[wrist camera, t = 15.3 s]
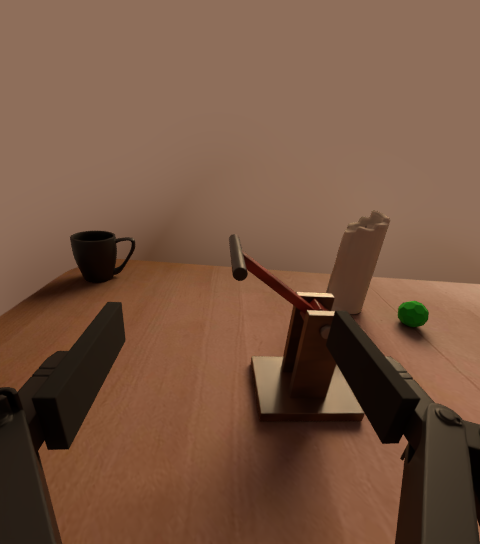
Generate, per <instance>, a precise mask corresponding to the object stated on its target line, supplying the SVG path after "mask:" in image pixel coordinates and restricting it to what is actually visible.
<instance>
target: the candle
mask: <svg viewBox="0 0 480 544" xmlns="http://www.w3.org/2000/svg"><path fill="white" fill-rule="evenodd" d="M389 222H390V218H388V217H387V216H385V215H384V214H382V213H380V212H378V211H375V210H373V211H372V213H371V216H370V217H369V218H367V217H361V218H360V219H359V221H358V222H356V223H351V224H349V225H348V227H347V229H346V231H345V233H344V235H343V237H342V241H341V244H340V247H339V250H338V254H337V258H336V262H335V265H334V268H333V271H332V274H331V277H330V280H329V284H328V288H327V292H326V293H329V294H332V295H333V296H334V297H335V299H334V303H333V306H332V310H331V311H347V312H348V313H349V314H357V313H360V312H361V309H362V306H363V303H364V300H365V297H366V294H367V291H368V288H369V284H370V281H371V278H372V275H373V272H374V269H375V266H376V263H377V260H378V256H379V253H380V250H381V247H382V244H383V241H384V238H385V235H386V232H387V229H388V226H389Z"/></svg>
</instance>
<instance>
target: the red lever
mask: <svg viewBox="0 0 480 544" xmlns="http://www.w3.org/2000/svg"><path fill="white" fill-rule="evenodd" d="M229 244H230V253H231V263H232V273H233V277H234V278H235V279H236V280H238V281H242V280H244V279H245V278H246V277H247V274H248V273H247V270H248V271H250V272H251V273H252V274H254V275H255V276H256V277H257V278H259V279H260V280H261V281H263V282H264V283H265V284H267V285H268V286H269V287H271V288H272V289H273V290H274V291H276V292H277V293H278V294H280V295H281V296H282V297H284V298H285V299H286V300H287V301H289V302H290V303H291V304H293V305H294V306H295V307H297V308H298V309H299V310H300V311H301V312H300V314H301V316H302V318H303V320H304V319H305V315H306V311H307V310H315V311H329V310H328V309H327V308H325V307H324V306H323V305H322V304H320V303H319V302H318V301H317V300H315V299H313V300H312V301H311V302H310V303H308V302H307V301H305V300H304V299H303V298H302V297H300V296H299V295H298V294H297V293H295V292H294V291H293V290H292V289H290V288H289V287H288V286H287V285H285V284H284V283H283V282H281V281H280V280H279V279H278V278H276V277H275V276H274V275H273V274H271V273H270V272H269V271H268V270H266V269H265V268H264V267H263V266H261V265H260V264H259V263H257V262H256V261H255V260H254V259H252V258H251V257H250V256H249V255H247V254H246V253H245V252H243V251H242V248H241V244H240V239H239V237H238V236H237V235H235V234H234V235H231V236H230V237H229Z"/></svg>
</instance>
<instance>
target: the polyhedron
mask: <svg viewBox="0 0 480 544" xmlns="http://www.w3.org/2000/svg"><path fill="white" fill-rule="evenodd" d="M428 314H429V313H428V310H427V309H426V307H425V306H424V305H423V304H422V303H419V302H417V301H410V302H405V303H402V304H401V305H400V306H399V308H398V318H399V319H400V321H401V322H402V323H403V324H405V325H407V326H409V327H418V326H422V325H424V324H425V323H426V322H427V320H428Z"/></svg>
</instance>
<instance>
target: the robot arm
mask: <svg viewBox="0 0 480 544" xmlns="http://www.w3.org/2000/svg"><path fill="white" fill-rule="evenodd" d="M124 342H125V331H124V322H123V313H122V303H121V302H107V303H106V305H105V306H104V307H103V309H102V310H101V311H100V312H99V314H98V315H97V316H96V317H95V319H94V320H93V321H92V322H91V324H90V325H89V326H88V327H87V329H86V330H85V331H84V333H83V334H82V335H81V336H80V338H79V339H78V340H77V341H76V343H75V344H74V345H73V346H72V348H71V349H70V350H69V351H57V352H56V353H54V354H53V355H51V356H50V357H48V358H47V359H46V360H45V361H44V362H43V363H42V365H41V366H40V367H39V369H37V370H36V371H35V373H34V374H33V375H32V377H30V378H29V380H28V381H27V382H26V383H25V384H24V385H23V386H22V388H21V389H20V390H19V391H18V392H17V391H16V390H15V389H14V388H10V387H4V388H0V544H62V541H61V537H60V533H59V530H58V526H57V522H56V518H55V514H54V510H53V506H52V502H51V499H50V495H49V491H48V487H47V483H46V479H45V475H44V471H43V467H42V464H41V460H40V456H39V453H38V450H39V448H40V447H41V445H42V444H43V442H44V440H45V442H46V446H47V449H48V450H56V449H69V448H70V446H71V444H72V442H73V440H74V438H75V436H76V434H77V432H78V431H79V429H80V427H81V425H82V423H83V421H84V419H85V417H86V415H87V413H88V411H89V409H90V408H91V406H92V404H93V402H94V400H95V398H96V396H97V394H98V392H99V390H100V388H101V386H102V385H103V383H104V381H105V379H106V377H107V375H108V373H109V371H110V369H111V367H112V365H113V363H114V362H115V360H116V358H117V356H118V354H119V352H120V350H121V348H122V346H123V344H124ZM326 347H327V348H328V350H329V352H330V354H331V355H332V357H333V359H334V361H335V362H336V364H337V366H338V367H339V369H340V371H341V373H342V374H343V376H344V378H345V380H346V381H347V383H348V385H349V387H350V388H351V390H352V392H353V394H354V395H355V397H356V399H357V401H358V402H359V404H360V406H361V407H362V409H363V411H364V413H365V414H366V416H367V418H368V420H369V421H370V423H371V425H372V427H373V428H374V430H375V432H376V434H377V435H378V437H379V439H380V440H381V442H382V444H390V443H399V441H400V439H401V437H402V435H403V434H404V436H405V437H406V439H407V440H408V442H409V443H408V445H407V446H406V448H405V450H404V452H403V454H402V456H401V458H400V459H401V460H404V458H405V461H404V470H403V478H402V487H401V496H400V504H399V513H398V522H397V531H396V539H395V544H480V541H479V532H478V524H477V520H478V523H479V526H480V425H479V424H476V423H472V422H468V421H464V420H462V418H461V417H460V416H459V415H458V414H457V413H455V412H454V411H453V410H451V409H449V408H448V407H446V406H444V405H441V404H437V403H435V402H434V401H433V400H432V399H431V398H430V397H429V396H428V395H427V393H426V392H425V391H424V390H423V389H422V388H421V387H420V386H419V384H418V383H417V382H416V381H415V380H413V378H412V377H411V375H410V374H409V373H407V371H406V370H405V369H404V368H403V366H402V365H401V364H400V363H398V362H397V361H396V360H394V359H393V358H391V357H385V356H384V355H383V354H382V352H381V351H380V350H379V349H378V348H377V346H376V345H375V344H374V343H373V342H372V341H371V339H370V338H369V337H368V336H367V335H366V333H365V332H364V331H363V330H362V329H361V328H360V326H359V325H358V324H357V323H356V322H355V320H354V319H353V318H352V317H351V316H350V314H349V313H348V312H347V311H335V313H334V316H333V320H332V324H331V327H330V331H329V335H328V338H327V342H326Z"/></svg>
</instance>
